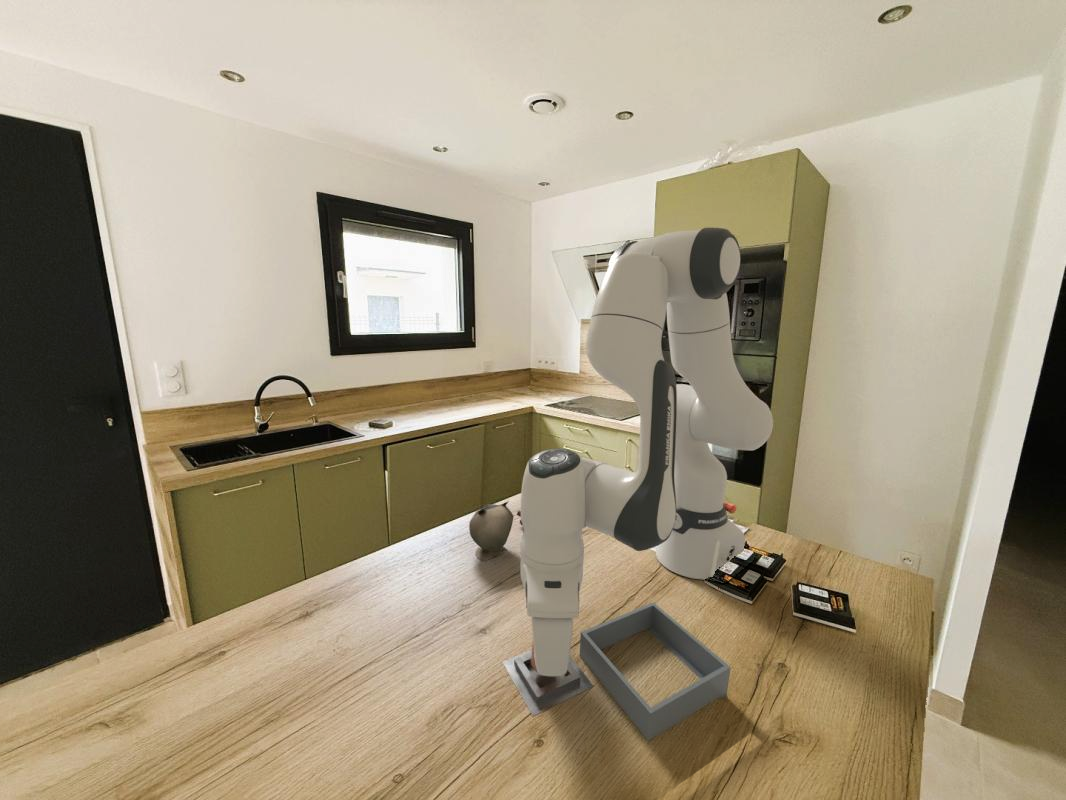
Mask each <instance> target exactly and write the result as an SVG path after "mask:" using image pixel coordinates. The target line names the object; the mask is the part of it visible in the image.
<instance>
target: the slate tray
mask: <svg viewBox="0 0 1066 800" xmlns="http://www.w3.org/2000/svg"><path fill="white" fill-rule="evenodd" d="M645 630H648V632H650V633H651V634H652V635H653V636H654V637H655V638H656V639H657V640H658V641H659V642H661V644H662V645H664V646H665V647H666V649H668V650H669V651H670V652H671V653H672V654H673V655H674V656H675V657H677V658H678V660H679V661H680V662H681V663H683V664H684V665H685V666H686V667H687V668H688V669H689V670H691V672H693V673H694V675H696V676H697V677H698V678H699V679H698V680H695V682H693V683H692V684H689V685H688V686H686V687H685V688H682V689H681V690H679V691H678V692H676V693H674V694H671V695H670V696H669V697H667V698H664V699H663V700H661V701H660V702H658V703H656V704H654V705H653V706H650V705H649V703H648V702H647V701H645V699H644V698H643V697H642V695H641V694H639V692H638V691H637V689H635V688H634V686H633V685H632V684H631V683H630V682H629V681H628V679H627V678H625V676H624V675H623V674H622V673H621V672H620V670H618V668H617V667H616V666H615V665H614V664H613V662H612V661H611V660H610V659H609V658H608V657H607V656H606V655H605V653H604V652H603V651H602V649H606V648H607V647H610V646H613V645H614V644H616V643H618V642H621V641H623V640H626V639H628V638H630V637H632V636H634V635H636V634H639V633H641V632H643V631H645ZM579 641H580V642H579V657H580V658H581V659H582V660H583V661H584V663H585V665H586V666H587V667H588V668H589V669H590V671H592V673H593V674H594V675H595V677H596V678H597V679H598V681H599V682H600V684H602V685H603V687H604V688H605V689H606V690H607V692H608V693H609V694H610V695H611V697H612V698H613V699H614V701H615V702H616V703H617V704H618V705H619V707H620V708H621V709H622V710H623V712H624V713H625V714H626V716H627V717H628V718H629V719H630V721H631V722H632V723H633V724H634V726H635V727H636V728H637V730H639V731H640V733H641V735H643V737H644V738H645V739H646V741H648V742H649V741H650V740H652V739H654V738H655V737H657V736H659V735H661V734H662V733H663V732H665V731H666V730H669V729H670V728H672V727H673V726H675V725H676V724H679V723H680V722H681V721H683V720H685V719H686V718H688V717H689V716H691V715H693V714H694V713H696V712H697V711H699V710H701V709H702V708H704V707H706V706H707V705H709V704H710V703H712V702H713V701H716V700H717V699H719V698H720V699H722V700H724V699H725V698H727V695H728V688H729V683H730V674H731V669H732V668H731V666H730V665H729V664H728V663H727V662H725V661H724V660H723V659H721V657H720V656H718V655H716V653H715V652H713V651H712V650H711V649H710V648H709V647H708V646H706V645H705V644H704V643H702V642H701V641H700V640H699V639H698V638H697V637H696V636H694V635H693V634H692V633H690V631H688V630H687V629H686V628H684V627H683V626H682V625H681V624H680V623H679V622H678V621H676V620H675V618H673V617H672V616H670V615H669V614H668V613H667V612H665V610H663V609H662V608H661V607H660V606H658V604H656V603H655V602H651V603H650V602H649V603H648V604H645V605H643V606H641V607H638V608H636V609H633V610H631V611H628V612H626V613H623V614H621V615H619V616H617V617H615V618H612V619H610V620H606V621H605V622H602V623H600V624H598V625H594V626H593V627H590V628H588V629H585V630H583V631H580V639H579Z"/></svg>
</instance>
